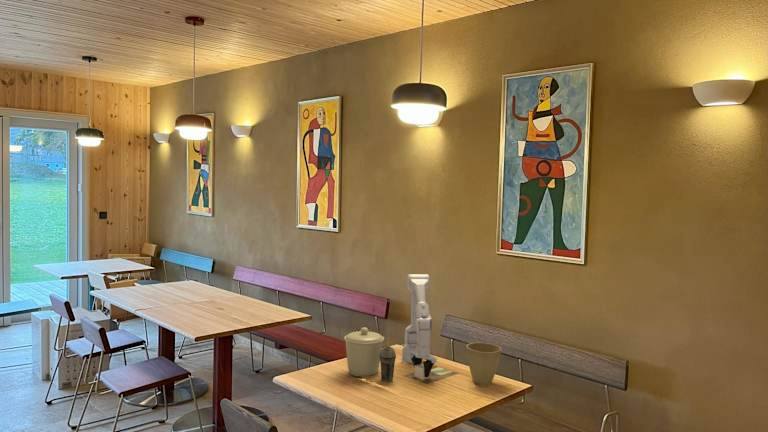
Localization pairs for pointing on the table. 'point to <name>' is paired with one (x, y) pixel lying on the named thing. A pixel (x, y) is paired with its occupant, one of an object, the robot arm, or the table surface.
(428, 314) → the robot arm
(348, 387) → the table surface
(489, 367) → the plant pot
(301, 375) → the table surface
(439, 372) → the post board
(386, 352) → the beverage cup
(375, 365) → the canister
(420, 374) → the beige stacked cube
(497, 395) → the table surface
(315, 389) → the table surface
